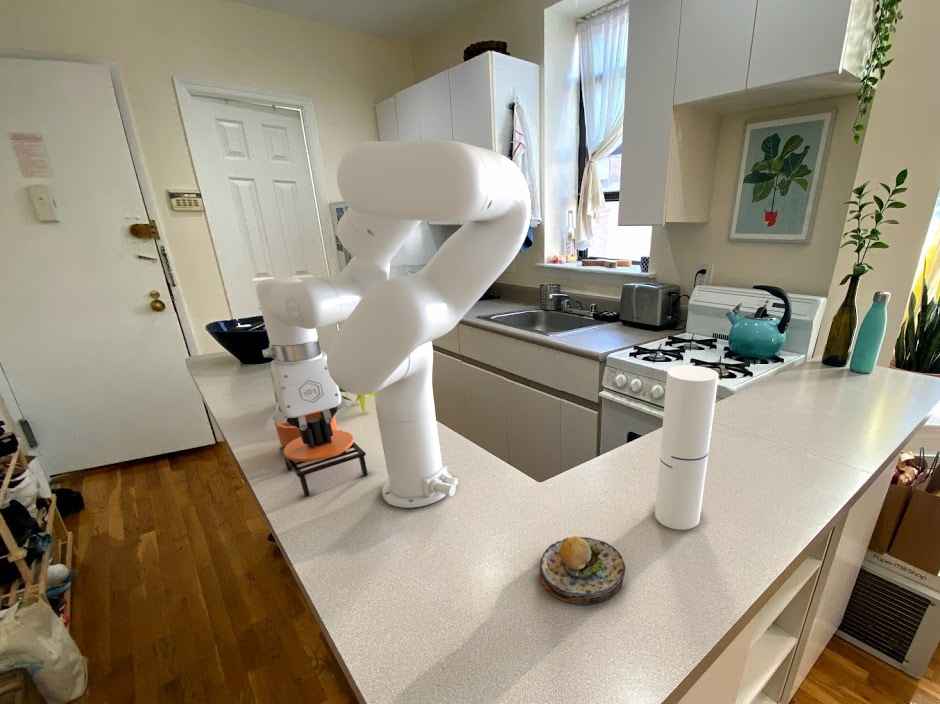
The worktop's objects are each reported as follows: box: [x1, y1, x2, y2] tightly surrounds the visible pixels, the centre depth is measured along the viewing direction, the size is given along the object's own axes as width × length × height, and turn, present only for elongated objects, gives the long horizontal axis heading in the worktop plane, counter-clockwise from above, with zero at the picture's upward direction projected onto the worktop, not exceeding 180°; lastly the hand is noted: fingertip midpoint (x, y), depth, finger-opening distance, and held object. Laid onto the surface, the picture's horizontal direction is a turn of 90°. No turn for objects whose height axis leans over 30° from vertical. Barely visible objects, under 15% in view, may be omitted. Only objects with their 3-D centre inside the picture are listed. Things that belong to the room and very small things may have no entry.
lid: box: [284, 418, 355, 463], centre depth 89 cm, size 12×12×6 cm
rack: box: [278, 429, 369, 498], centre depth 91 cm, size 14×12×5 cm
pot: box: [274, 412, 339, 447], centre depth 100 cm, size 11×11×8 cm
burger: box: [538, 536, 626, 605], centre depth 63 cm, size 12×12×8 cm
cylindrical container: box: [654, 364, 719, 531], centre depth 72 cm, size 7×7×25 cm
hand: (319, 442), depth 89 cm, fingers closed on lid, 2 cm apart
